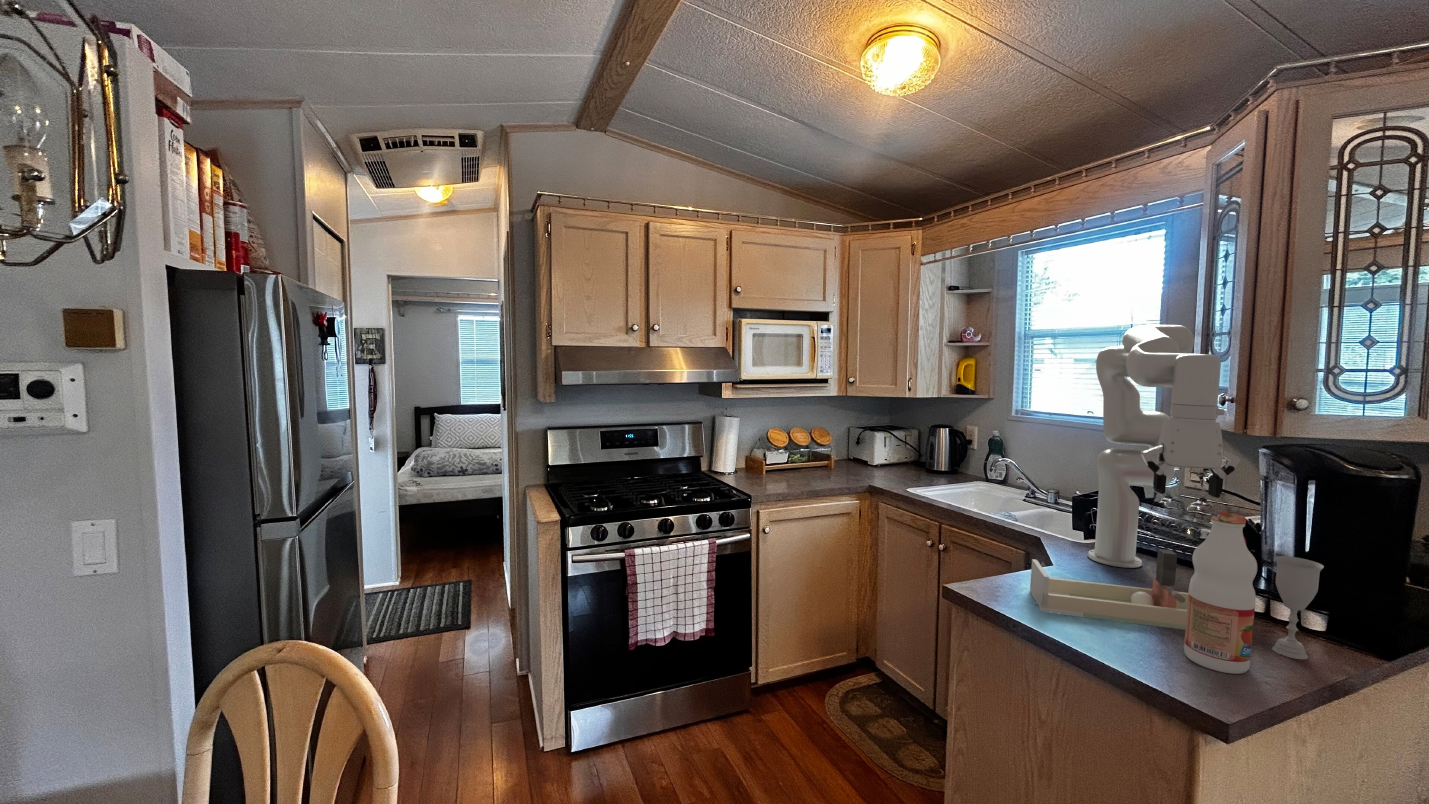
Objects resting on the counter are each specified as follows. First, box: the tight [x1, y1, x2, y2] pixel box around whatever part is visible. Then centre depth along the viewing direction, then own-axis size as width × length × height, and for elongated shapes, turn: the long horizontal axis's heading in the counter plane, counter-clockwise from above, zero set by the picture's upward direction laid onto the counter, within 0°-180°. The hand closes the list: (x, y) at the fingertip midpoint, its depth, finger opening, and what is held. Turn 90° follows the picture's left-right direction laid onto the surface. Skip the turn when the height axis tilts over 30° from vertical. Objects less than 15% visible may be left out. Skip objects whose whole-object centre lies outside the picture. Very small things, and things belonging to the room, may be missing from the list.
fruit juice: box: [1183, 511, 1258, 675], centre depth 110 cm, size 9×9×28 cm
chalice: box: [1271, 555, 1325, 660], centre depth 114 cm, size 7×7×18 cm
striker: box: [1146, 548, 1185, 608], centre depth 130 cm, size 16×2×13 cm, turn 163°
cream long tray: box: [1029, 558, 1188, 631], centre depth 133 cm, size 12×32×8 cm, turn 73°
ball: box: [1131, 591, 1153, 606], centre depth 131 cm, size 4×4×4 cm
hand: (1186, 494), depth 125 cm, fingers open, 9 cm apart
